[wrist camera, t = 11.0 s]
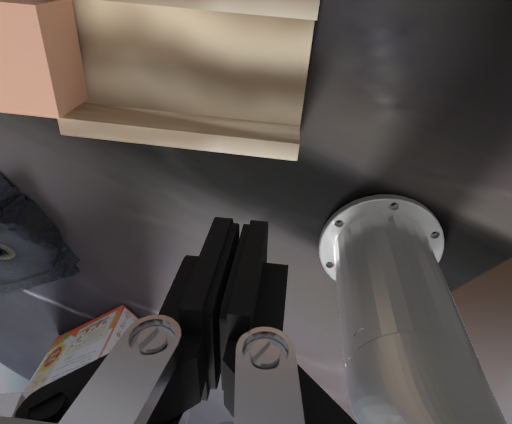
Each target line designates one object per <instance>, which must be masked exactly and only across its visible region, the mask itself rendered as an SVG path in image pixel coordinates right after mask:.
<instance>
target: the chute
mask: <svg viewBox="0 0 512 424" xmlns="http://www.w3.org/2000/svg"><path fill="white" fill-rule="evenodd" d="M72 4H73V10H74V16H75V22H76V28H77V34H78V40H79V46H80V52H81V58H82V64H83V70H84V76H85V82H86V88H87V94H88V99H87V100H86V101H85V102H83V103H82V104H80V105H79V106H77V107H76V108H74V109H73V110H71V111H70V112H68V113H67V114H66V115H64V116H63V117H61V118H60V119H58V118H57V119H58V124H59V129H60V133H61V135H68V136H77V137H86V138H95V139H104V140H113V141H122V142H131V143H140V144H149V145H158V146H166V147H175V148H184V149H193V150H202V151H211V152H220V153H229V154H238V155H247V156H256V157H265V158H274V159H283V160H292V161H297V158H298V151H299V144H300V123H301V116H302V109H303V102H304V95H305V88H306V80H307V73H308V66H309V59H310V52H311V45H312V37H313V30H314V23H315V20H316V21H317V18H318V11H319V4H320V0H72Z"/></svg>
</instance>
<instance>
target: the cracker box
mask: <svg viewBox="0 0 512 424" xmlns="http://www.w3.org/2000/svg"><path fill="white" fill-rule="evenodd" d="M138 319H139V318H138V317H137V316H136V315H135V314H134V313H132V312H131V311H130V310H129V309H128V308H127V307H126V306H125V305H121V306H119V307H117V308H115V309H113V310H111V311H109V312H107V313H105V314H103V315H101V316H99V317H97V318H95V319H93V320H91V321H89V322H87V323H85V324H83V325H81V326H79V327H76V328H74V329H73V330H70V331H68V332H66V333H64V334H62V335H60V336H58V337H57V338H56V340H55V341H54V343H53V345H52V346H51V348H50V349H49V351H48V353H47V354H46V356H45V357H44V359H43V360H42V362H41V364H40V365H39V367H38V368H37V370H36V372H35V373H34V375H33V376H32V378H31V380H30V381H29V383H28V385H27V386H26V388H25V389H24V391H23V392H22V393H23V395H24V396H29V395H30V394H31V393H33V392H34V391H36V390H38V389H39V388H41V387H43V386H45V385H47V384H49V383H51V382H53V381H55V380H57V379H59V378H61V377H63V376H65V375H67V374H69V373H71V372H73V371H74V370H76V369H78V368H80V367H82V366H84V365H86V364H88V363H90V362H92V361H94V360H96V359H98V358H100V357H102V356H104V355H106V354H108V353H110V351H111V350H112V348H113V347H114V346H115V344H116V343H117V342H118V340H119V339H120V337H121V336H122V335H123V333H124V332H125V330H126V329H127V328H128V327H129V326H130V325H131V324H132V323H134V322H135V321H137V320H138Z"/></svg>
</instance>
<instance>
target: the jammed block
mask: <svg viewBox="0 0 512 424" xmlns="http://www.w3.org/2000/svg"><path fill="white" fill-rule="evenodd" d="M87 99H88V94H87V88H86V82H85V76H84V70H83V64H82V58H81V52H80V46H79V40H78V34H77V28H76V22H75V16H74V10H73V4H72V0H0V112H3V113H12V114H21V115H30V116H39V117H48V118H58V119H60V118H61V117H63V116H64V115H66V114H67V113H68V112H70V111H71V110H73V109H74V108H76V107H77V106H79V105H80V104H82V103H83V102H85V101H86V100H87Z"/></svg>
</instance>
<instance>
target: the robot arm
mask: <svg viewBox="0 0 512 424" xmlns="http://www.w3.org/2000/svg"><path fill="white" fill-rule="evenodd" d="M267 242H268V222H267V221H255V220H251V221H250V225H248V224H244V225H243V228H242V232H241V235H240V239H239V224H237V223H233V219H232V218H221V217H215V218H214V220H213V223H212V225H211V228H210V230H209V233H208V235H207V238H206V240H205V243H204V245H203V248H202V250H201V253H200V255H199V256H189V255H186V256H185V257H184V259H183V261H182V263H181V266H180V268H179V270H178V272H177V274H176V277H175V279H174V281H173V283H172V285H171V288H170V290H169V292H168V294H167V297H166V299H165V301H164V303H163V305H162V308H161V310H160V312H159V314H158V315H149V316H146V317H143V318H140V319H138V320H137V321H135V322H134V323H132V324H131V325H130V326H129V327H128V328H127V329H126V330H125V332H124V333H123V335H122V336H121V337H120V339H119V340H118V342H117V343H116V344H115V346H114V347H113V348H112V350H111V351H110V353H108V354H106V355H104V356H102V357H100V358H98V359H96V360H94V361H92V362H90V363H88V364H86V365H84V366H82V367H80V368H78V369H76V370H74V371H73V372H71V373H69V374H67V375H65V376H63V377H61V378H59V379H57V380H55V381H53V382H51V383H49V384H47V385H45V386H43V387H41V388H39V389H38V390H36V391H34V392H33V393H31V394H30V395H29V396H24V395H23V393H22V392H16V393H5V394H0V424H186V422H187V420H188V416H189V413H190V408H192V407H193V406H195V405H196V404H198V403H199V402H201V400H206V401H207V400H208V396H209V392H210V389H217V387H218V383H219V378H220V374H221V379H222V390H224V405H225V407H226V408H227V409H228V411H229V412H230V413H231V415H232V416H233V417H234V424H357V423H356V422H355V421H354V420H353V419H352V418H351V417H350V416H349V415H348V414H347V413H346V412H345V411H344V410H343V409H342V408H341V407H340V406H339V405H338V404H337V403H336V402H335V401H334V400H333V399H332V398H331V397H330V396H329V395H328V394H327V393H326V392H325V391H324V390H323V389H322V388H321V387H320V386H319V385H318V384H317V383H316V382H315V381H314V380H313V379H312V378H311V377H310V376H309V375H308V374H307V373H306V372H305V371H304V370H303V369H302V368H301V367H300V366H299V365H298V364H297V359H296V352H295V347H294V344H293V342H292V340H291V339H290V338H289V336H288V335H286V334H285V333H284V332H283V321H284V310H285V298H286V287H287V275H288V265H282V264H272V263H267ZM443 250H444V235H443V230H442V228H441V226H440V224H439V222H438V220H437V218H436V217H435V216H434V214H433V213H432V212H431V211H430V210H429V209H428V208H427V207H426V206H424V205H423V204H421V203H419V202H417V201H416V200H413V199H410V198H407V197H404V196H399V195H392V194H378V195H372V196H366V197H363V198H360V199H357V200H354V201H352V202H350V203H348V204H346V205H345V206H343V207H342V208H340V209H339V210H338V211H336V212H335V213H334V214H333V215H332V216H331V217H330V218H329V219H328V221H327V222H326V224H325V226H324V227H323V229H322V232H321V235H320V238H319V257H320V260H321V264H322V266H323V267H324V269H325V271H326V272H327V273H328V275H329V276H330V277H331V278H332V279H333V280H335V281H336V284H337V296H338V307H339V318H340V329H341V341H342V352H343V363H344V374H345V383H346V391H347V397H348V401H349V404H350V407H351V409H352V411H353V413H354V415H355V417H356V419H357V421H358V422H359V424H507V422H506V420H505V418H504V416H503V414H502V412H501V409H500V407H499V405H498V403H497V401H496V398H495V396H494V394H493V392H492V390H491V388H490V385H489V383H488V381H487V378H486V376H485V374H484V372H483V369H482V367H481V364H480V362H479V359H478V357H477V355H476V353H475V350H474V348H473V345H472V343H471V340H470V338H469V336H468V333H467V331H466V329H465V326H464V324H463V321H462V319H461V317H460V314H459V312H458V310H457V307H456V305H455V303H454V300H453V298H452V295H451V293H450V290H449V288H448V286H447V283H446V281H445V279H444V276H443V274H442V271H441V269H440V267H439V264H438V262H439V261H440V259H441V257H442V254H443Z"/></svg>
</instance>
